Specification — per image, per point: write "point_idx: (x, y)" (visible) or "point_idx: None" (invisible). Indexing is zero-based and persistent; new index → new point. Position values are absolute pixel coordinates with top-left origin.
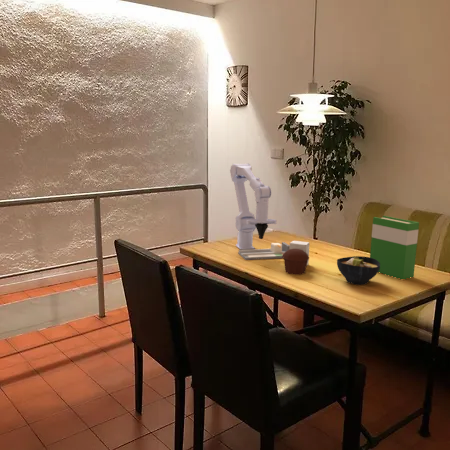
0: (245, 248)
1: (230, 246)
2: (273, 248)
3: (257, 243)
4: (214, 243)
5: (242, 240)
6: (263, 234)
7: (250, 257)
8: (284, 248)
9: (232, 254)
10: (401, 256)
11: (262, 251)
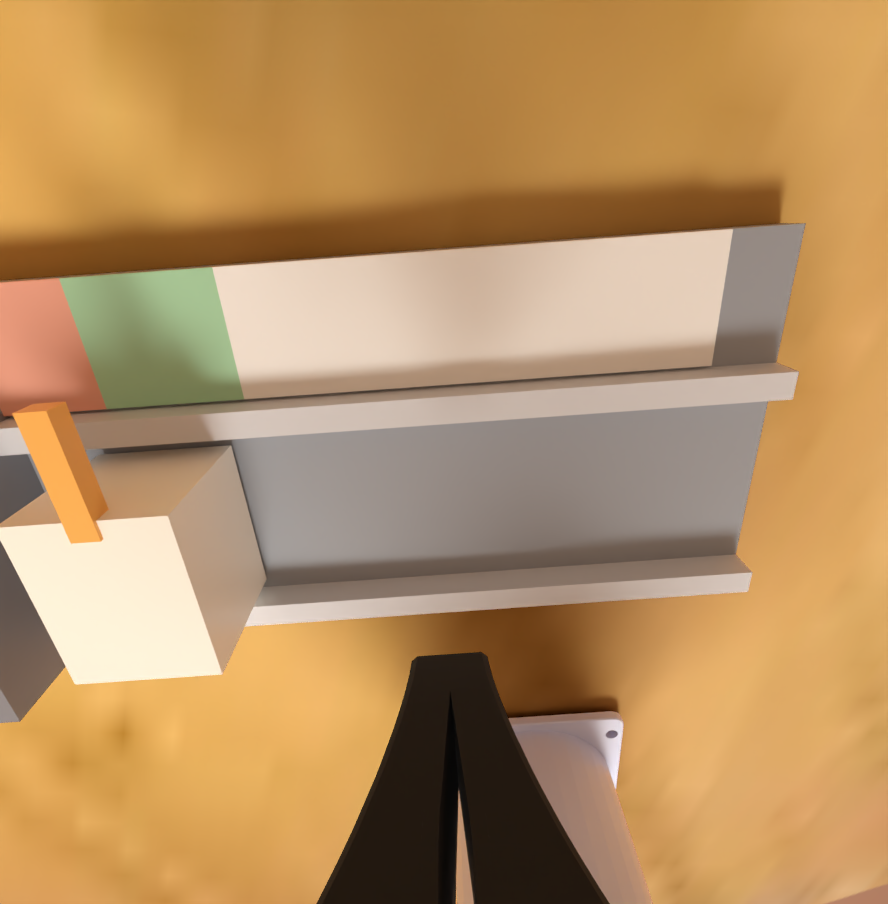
0: (559, 722)
1: (668, 810)
2: (212, 517)
3: None
4: (772, 887)
5: (619, 844)
6: (400, 763)
7: (709, 231)
8: None
9: (808, 538)
10: None
11: (391, 571)
